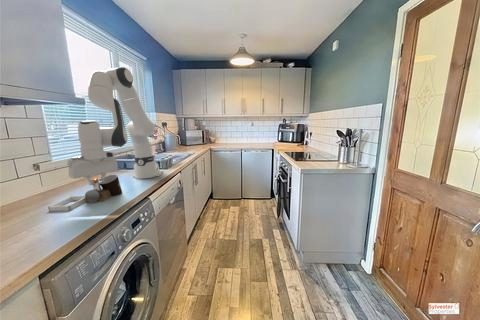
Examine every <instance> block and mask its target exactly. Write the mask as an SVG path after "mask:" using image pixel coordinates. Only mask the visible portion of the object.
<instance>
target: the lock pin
mask: <svg viewBox="0 0 480 320" xmlns="http://www.w3.org/2000/svg"><path fill="white" fill-rule="evenodd" d="M90 180H91V181H94V185H92V188H93V190H97V191H98V192H101V188H102V187H101V185H100V184H99V178H98V177H95V178H92V179H90Z"/></svg>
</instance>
